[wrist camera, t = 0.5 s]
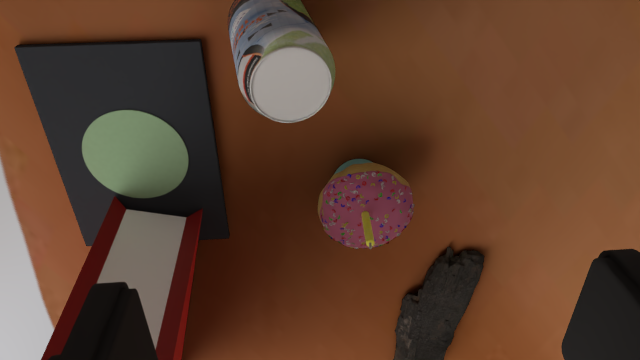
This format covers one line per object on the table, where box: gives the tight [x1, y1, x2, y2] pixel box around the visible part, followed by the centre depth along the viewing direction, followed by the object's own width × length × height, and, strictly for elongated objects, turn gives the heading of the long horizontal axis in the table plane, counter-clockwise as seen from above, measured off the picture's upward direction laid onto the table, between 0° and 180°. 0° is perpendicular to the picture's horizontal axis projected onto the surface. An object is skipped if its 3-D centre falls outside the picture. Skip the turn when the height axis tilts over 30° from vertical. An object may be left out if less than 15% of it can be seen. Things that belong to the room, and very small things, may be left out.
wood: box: [393, 247, 484, 360], centre depth 57 cm, size 22×7×3 cm, turn 171°
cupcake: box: [318, 159, 414, 249], centre depth 42 cm, size 9×8×12 cm
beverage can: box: [228, 0, 335, 123], centre depth 33 cm, size 6×7×12 cm
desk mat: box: [15, 39, 229, 246], centre depth 43 cm, size 20×14×1 cm
